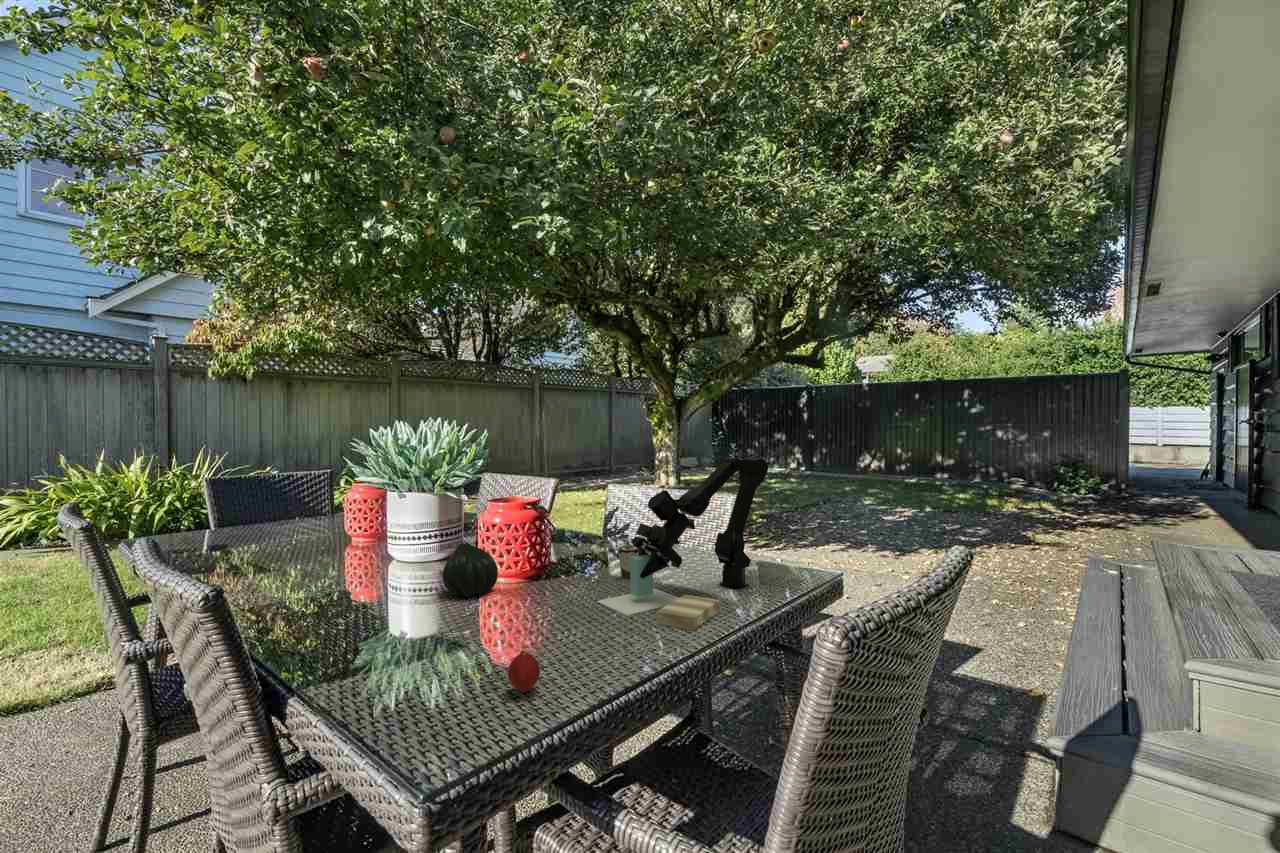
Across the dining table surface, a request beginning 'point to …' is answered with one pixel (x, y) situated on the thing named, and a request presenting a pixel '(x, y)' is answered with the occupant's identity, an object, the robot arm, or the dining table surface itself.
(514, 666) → the onion
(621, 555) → the food container
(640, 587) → the tall teal block
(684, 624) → the plate
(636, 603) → the mat
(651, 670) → the dining table surface
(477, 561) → the squash
